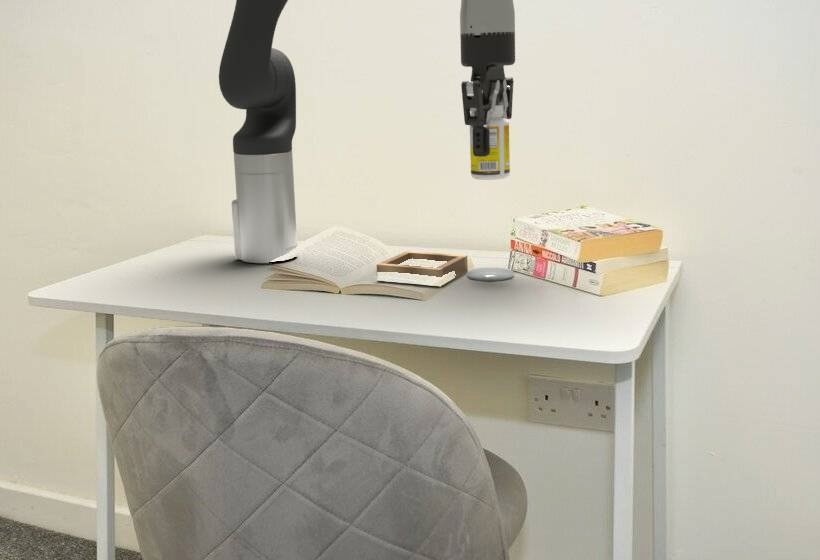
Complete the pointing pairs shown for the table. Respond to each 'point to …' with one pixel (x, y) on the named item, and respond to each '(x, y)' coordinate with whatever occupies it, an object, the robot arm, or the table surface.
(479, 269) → the coaster
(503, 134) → the supplement bottle
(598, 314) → the table surface
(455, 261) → the box frame
